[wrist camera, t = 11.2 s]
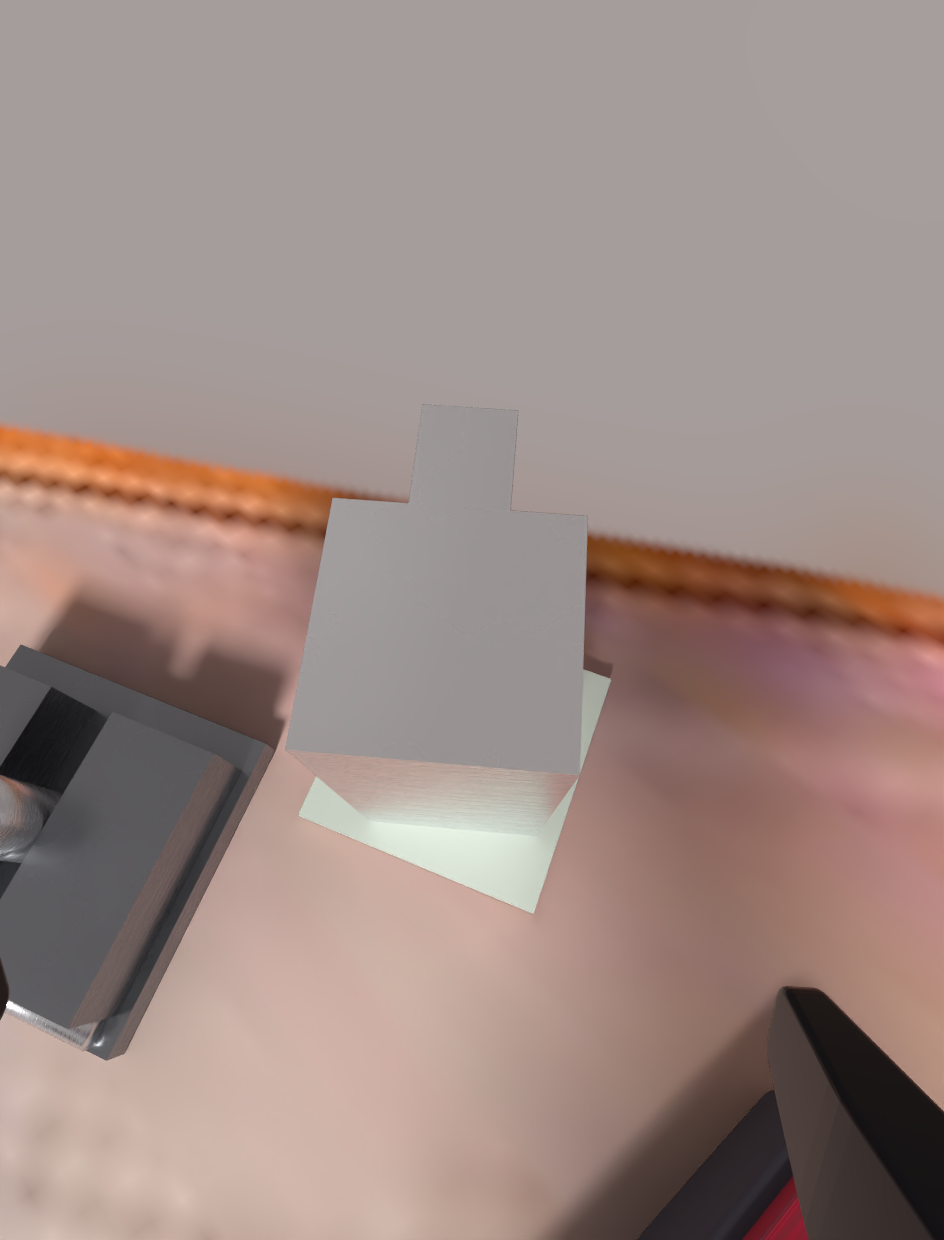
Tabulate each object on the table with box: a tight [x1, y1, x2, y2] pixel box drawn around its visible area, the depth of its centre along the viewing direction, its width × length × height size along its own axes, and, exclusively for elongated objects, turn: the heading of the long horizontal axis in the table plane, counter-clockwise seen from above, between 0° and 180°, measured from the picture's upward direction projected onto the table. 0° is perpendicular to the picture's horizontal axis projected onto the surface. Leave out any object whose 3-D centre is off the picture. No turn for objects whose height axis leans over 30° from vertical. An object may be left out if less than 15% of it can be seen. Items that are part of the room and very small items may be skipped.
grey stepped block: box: [285, 404, 588, 836], centre depth 18 cm, size 7×5×10 cm
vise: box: [0, 645, 275, 1061], centre depth 19 cm, size 9×9×6 cm
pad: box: [298, 669, 611, 914], centre depth 23 cm, size 8×8×1 cm
